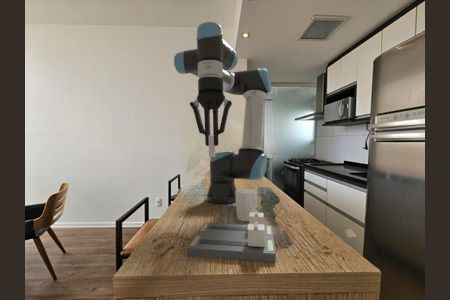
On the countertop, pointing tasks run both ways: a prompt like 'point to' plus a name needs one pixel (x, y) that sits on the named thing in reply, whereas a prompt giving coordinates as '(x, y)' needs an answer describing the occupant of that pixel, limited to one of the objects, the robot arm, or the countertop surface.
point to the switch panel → (230, 243)
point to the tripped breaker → (256, 235)
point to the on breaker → (256, 217)
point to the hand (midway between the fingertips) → (212, 156)
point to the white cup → (245, 203)
